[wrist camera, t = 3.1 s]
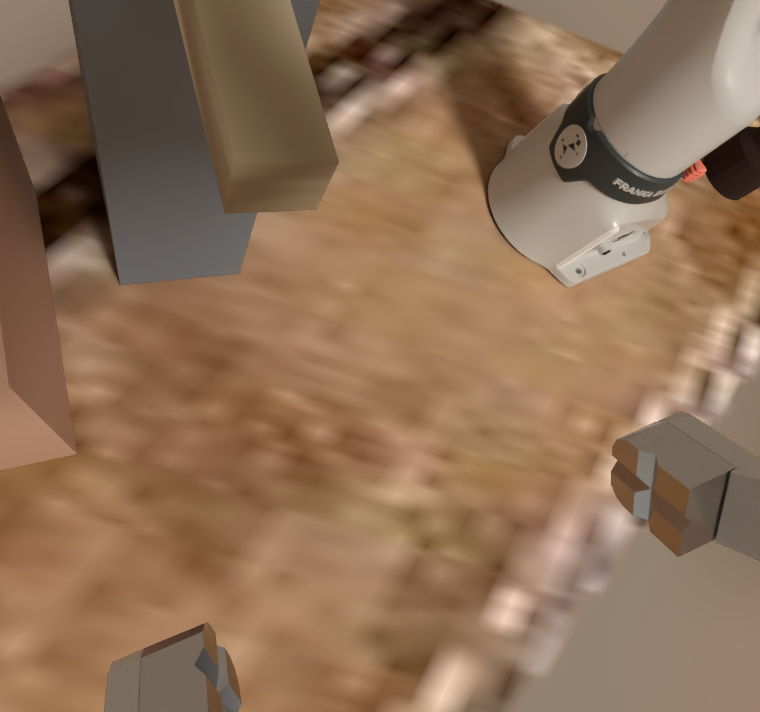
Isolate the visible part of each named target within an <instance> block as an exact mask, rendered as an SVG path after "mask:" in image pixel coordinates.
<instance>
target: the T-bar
mask: <svg viewBox="0 0 760 712" xmlns="http://www.w3.org/2000/svg"><path fill="white" fill-rule="evenodd" d="M173 1H174V5H175V9H176V13H177V18H178V22H179V26H180V30H181V34H182V38H183V42H184V47H185V51H186V55H187V59H188V63H189V67H190V72H191V76H192V80H193V84H194V88H195V92H196V96H197V101H198V105H199V109H200V113H201V117H202V121H203V125H204V130H205V134H206V138H207V142H208V146H209V150H210V155H211V159H212V163H213V167H214V171H215V175H216V179H217V184H218V188H219V192H220V196H221V200H222V204H223V208H224V213H225V214H233V213H254V212H275V211H296V210H316V209H317V207H318V205H319V203H320V201H321V199H322V197H323V195H324V192H325V190H326V188H327V186H328V184H329V182H330V180H331V178H332V176H333V173H334V171H335V169H336V167H337V165H338V163H339V161H338V158H337V155H336V151H335V148H334V145H333V141H332V138H331V135H330V131H329V128H328V125H327V121H326V118H325V115H324V111H323V108H322V105H321V101H320V98H319V95H318V91H317V88H316V85H315V81H314V78H313V75H312V71H311V68H310V65H309V61H308V58H307V55H306V51H305V48H304V45H303V41H302V38H301V34H300V31H299V28H298V24H297V21H296V18H295V14H294V11H293V8H292V4H291V1H290V0H173Z"/></svg>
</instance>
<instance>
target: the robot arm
mask: <svg viewBox="0 0 760 712" xmlns="http://www.w3.org/2000/svg"><path fill="white" fill-rule="evenodd" d="M759 116H760V0H668V1H667V3H666V4H665V6H664V7H663V8H662V10H661V11H660V12H659V14H658V15H657V16H656V17H655V19H654V20H653V21H652V22H651V24H650V25H649V26H648V27H647V29H646V30H645V31H644V32H643V33H642V35H641V36H640V37H639V38H638V39H637V40H636V42H635V43H634V44H633V45H632V46H631V47H630V48H629V50H628V51H627V52H626V53H625V54H624V55H623V56H622V57H621V58H620V60H619V61H618V62H617V63H616V64H615V65H614V66H613V67H612V68H611V69H610V70H609V71H608V72H607V73H605V74H602V75H600V76H598V77H597V78H595V79H594V80H593V81H592V82H591V83H590V84H588V85H587V86H586V87H585V88H584V89H583V90H582V91H581V92H580V93H579V94H578V95H577V97H576V98H575V99H574V100H573V102H572V103H571V104H562V105H560V106H559V107H557V108H556V109H555V110H554V111H553V112H552V113H551V114H550V115H548V116H547V117H546V118H545V119H544V120H543V121H542V122H541V123H540V124H538V125H537V126H536V127H535V128H534V129H533V130H532V131H531V132H530V133H529V134H528V135H527V136H522V135H517V136H515V137H514V138H513V139H512V140H511V141H510V142H509V144H508V147H507V151H506V156H505V157H504V159H503V160H502V161H501V162H500V163H499V164H498V165H497V166H496V167H495V169H494V170H493V172H492V174H491V176H490V180H489V184H488V198H489V204H490V208H491V211H492V214H493V217H494V219H495V221H496V223H497V225H498V227H499V228H500V230H501V232H502V233H503V234H504V236H505V237H506V238H507V240H508V241H509V242H510V243H511V244H512V245H513V246H514V247H515V248H516V249H517V250H518V251H519V252H520V253H522V254H523V255H524V256H526V257H527V258H529V259H530V260H532V261H534V262H536V263H538V264H540V265H542V266H543V267H545V268H546V269H548V270H549V271H550V272H551V273H552V274H553V275H554V276H555V277H556V278H557V279H558V280H559V281H560V282H561V283H562V284H564V285H565V286H568V287H573V286H575V285H578V284H580V283H582V282H584V281H587V280H589V279H591V278H594V277H596V276H598V275H601V274H603V273H605V272H608V271H610V270H612V269H615V268H617V267H619V266H621V265H624V264H626V263H628V262H631V261H633V260H635V259H638V258H640V257H642V256H643V255H645V254H646V253H647V252H649V250H650V234H649V229H651V228H652V227H654V226H655V225H657V224H658V223H660V222H661V221H662V220H664V219H665V217H666V215H667V212H668V194H667V192H668V191H669V190H671V189H672V188H673V187H674V186H675V183H676V182H677V181H678V180H679V179H680V178H681V177H682V178H683V180H684V182H689V181H693V180H695V179H697V178H698V177H701V176H702V175H703V174H705V173H706V171H707V169H706V167H705V166H704V165H703V163H702V162H701V160H700V159H701V158H703V157H704V156H706V155H707V154H709V153H710V152H711V151H713V150H714V149H716V148H717V147H718V146H720V145H721V144H723V143H724V142H726V141H727V140H728V139H730V138H731V137H733V136H734V135H735V134H737V133H738V132H740V131H741V130H743V129H744V128H746V127H747V126H748V125H750V124H751V123H753V122H754V121H755V120H756V119H757V118H758V117H759ZM612 456H614V457H615V458H616V459H617V460H618V461H617V462H616V464H615V466H614V467H613V469H612V471H611V485H612V487H613V490H614V492H615V495H616V497H617V498H618V500H619V501H620V502H621V504H622V505H623V506H624V507H625V508H626V509H627V510H628V511H629V512H630V513H631V514H632V515H634V516H637V517H640V518H643V519H646V520H648V523H649V528H650V532H651V533H652V534H653V535H655V536H656V537H657V538H658V539H659V540H660V541H661V542H662V543H663V544H664V545H665V546H666V547H668V548H669V549H670V550H671V551H672V552H673V553H674V554H675V555H676V556H678V557H679V556H681V555H683V554H685V553H688V552H690V551H692V550H694V549H696V548H698V547H700V546H702V545H705V544H707V543H709V542H711V541H713V540H715V539H716V541H715V542H716V543H718V544H721V545H723V546H726V547H728V548H731V549H733V550H735V551H738V552H740V553H743V554H745V555H747V556H749V557H752V558H754V559H756V560H759V561H760V458H758V457H757V456H755V455H754V454H752V453H750V452H749V451H747V450H745V449H744V448H743V447H741V446H739V445H738V444H736V443H735V442H733V441H731V440H730V439H728V438H727V437H725V436H724V435H722V434H720V433H719V432H717V431H715V430H714V429H712V428H711V427H709V426H708V425H706V424H705V423H703V422H702V421H700V420H698V419H697V418H695V417H694V416H692V415H690V414H688V413H685V412H681V411H680V412H678V413H675V414H673V415H671V416H669V417H667V418H664V419H662V420H660V421H658V422H654V423H652V424H650V425H647V426H645V427H643V428H641V429H639V430H637V431H634V432H632V433H630V434H628V435H626V436H624V437H621V438H619V439H617V440H616V441H615V443H614V444H613V448H612ZM241 704H242V703H241V696H240V689H239V683H238V679H237V675H236V672H235V668H234V665H233V663H232V660H231V658H230V656H229V654H228V652H227V651H226V649H225V648H224V647H220V646H217V644H216V634H215V632H214V630H213V629H212V627H211V626H210V625H209V623H208V622H207V623H204V624H202V625H199V626H197V627H195V628H192V629H190V630H187V631H185V632H182V633H180V634H178V635H175V636H173V637H170V638H168V639H166V640H163V641H161V642H158V643H156V644H153V645H151V646H149V647H146V648H144V649H142V650H139V651H137V652H135V653H132V654H130V655H128V656H125V657H123V658H121V659H118V660H116V661H114V662H112V664H111V667H110V669H109V672H108V674H107V683H106V693H105V703H104V712H238V711H239V708H240V706H241Z"/></svg>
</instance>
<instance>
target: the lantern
mask: <svg viewBox="0 0 760 712" xmlns="http://www.w3.org/2000/svg"><path fill="white" fill-rule="evenodd" d="M704 166H705V167H706V169H707V171H706V175H707V177H708V179H709V181H710V182H711V184H712V185H713V187H714V188H715V189H716V190H717V191H718V192H719V193H720V194H722V195H723V196H725V197H726V198H728V199H732V200H739V199H740V198H742V197H744V196H746V195H747V194H749V193H751V192H752V191H754V190H756V189H758V188H759V187H760V127H746V128H744V129H743V130H741V131H740V132H738V133H737V134H735V135H734V136H733V137H731V138H730V139H728V140H727V141H726V142H724V143H723V144H721V145H720V146H718V147H717V148H716V149H714V150H713V151H711V152H710V153H709V154H707V155H706V156H705V158H704Z"/></svg>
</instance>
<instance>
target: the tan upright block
mask: <svg viewBox="0 0 760 712" xmlns="http://www.w3.org/2000/svg"><path fill="white" fill-rule="evenodd" d="M75 454H77V451H76V444H75V438H74V431H73V425H72V419H71V412H70V406H69V400H68V393H67V387H66V381H65V374H64V368H63V361H62V355H61V349H60V342H59V336H58V330H57V323H56V317H55V311H54V304H53V298H52V291H51V285H50V279H49V272H48V266H47V260H46V253H45V247H44V241H43V234H42V228H41V221H40V215H39V209H38V202H37V196H36V193H35V190H34V187H33V184H32V182H31V179H30V176H29V173H28V171H27V168H26V165H25V162H24V160H23V157H22V154H21V151H20V149H19V146H18V143H17V141H16V138H15V135H14V132H13V130H12V127H11V124H10V121H9V119H8V116H7V113H6V110H5V108H4V105H3V102H2V99H1V97H0V470H5V469H9V468H14V467H19V466H23V465H28V464H33V463H37V462H42V461H47V460H51V459H56V458H61V457H65V456H70V455H75Z"/></svg>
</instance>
